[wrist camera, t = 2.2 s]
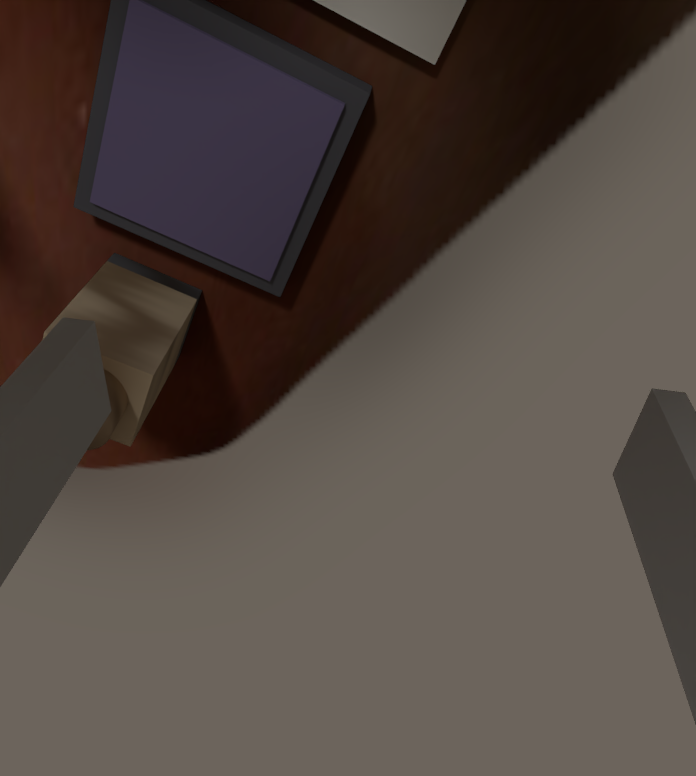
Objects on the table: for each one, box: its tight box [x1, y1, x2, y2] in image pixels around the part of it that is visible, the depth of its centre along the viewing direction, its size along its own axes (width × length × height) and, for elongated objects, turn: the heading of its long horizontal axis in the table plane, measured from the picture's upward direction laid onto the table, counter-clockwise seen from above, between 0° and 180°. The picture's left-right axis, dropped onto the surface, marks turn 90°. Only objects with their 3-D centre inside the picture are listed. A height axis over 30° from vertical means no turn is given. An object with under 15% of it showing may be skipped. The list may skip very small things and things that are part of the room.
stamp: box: [43, 253, 202, 450], centre depth 32 cm, size 5×5×10 cm
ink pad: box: [74, 0, 372, 297], centre depth 30 cm, size 11×11×2 cm
